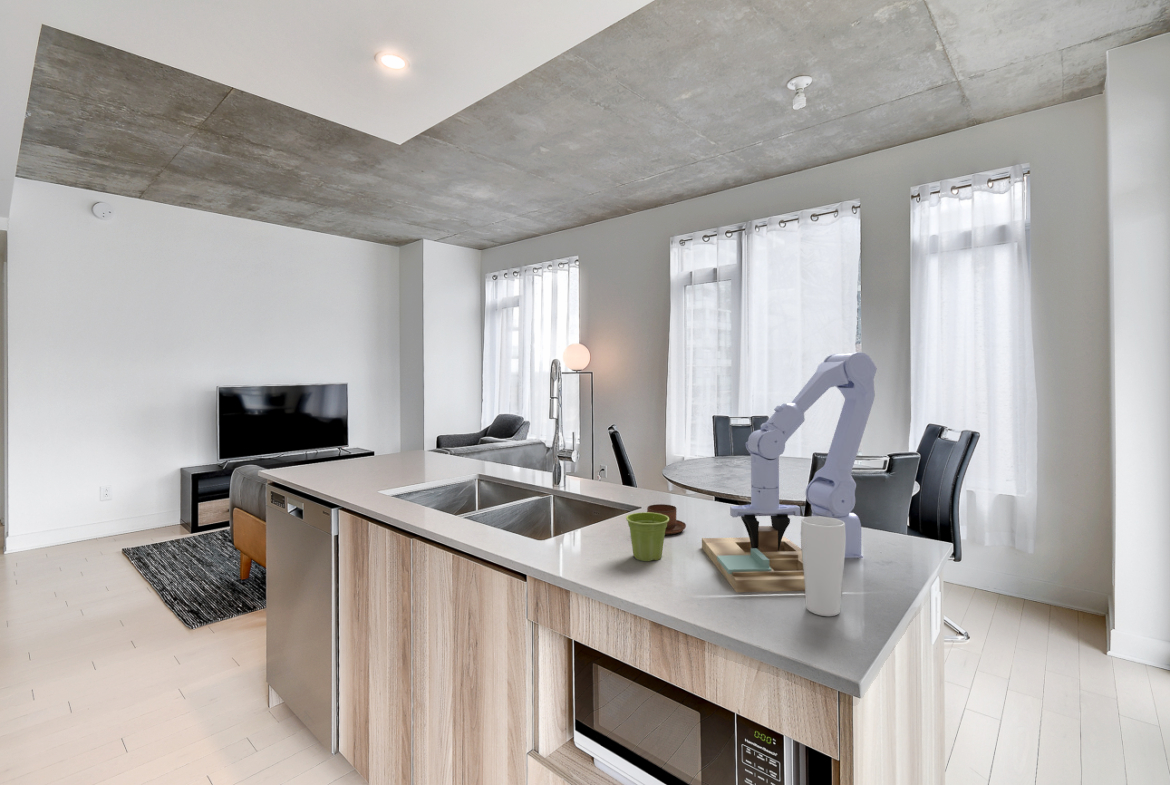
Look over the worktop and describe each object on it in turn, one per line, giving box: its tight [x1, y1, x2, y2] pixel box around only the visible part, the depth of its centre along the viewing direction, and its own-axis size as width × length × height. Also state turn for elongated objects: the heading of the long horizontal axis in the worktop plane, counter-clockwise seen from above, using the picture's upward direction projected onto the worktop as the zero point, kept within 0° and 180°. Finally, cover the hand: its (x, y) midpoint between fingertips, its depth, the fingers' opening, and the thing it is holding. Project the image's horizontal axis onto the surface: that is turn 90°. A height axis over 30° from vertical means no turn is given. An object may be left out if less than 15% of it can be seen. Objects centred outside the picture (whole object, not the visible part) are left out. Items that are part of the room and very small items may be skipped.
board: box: [701, 536, 805, 593], centre depth 112 cm, size 19×26×3 cm
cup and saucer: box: [646, 503, 687, 536], centre depth 139 cm, size 12×12×6 cm
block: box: [758, 525, 778, 552], centre depth 118 cm, size 4×4×6 cm
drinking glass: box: [800, 515, 846, 617], centre depth 91 cm, size 7×7×15 cm
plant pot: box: [625, 511, 669, 562], centre depth 119 cm, size 9×9×9 cm
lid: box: [717, 548, 771, 574], centre depth 106 cm, size 8×8×2 cm
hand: (765, 549), depth 118 cm, fingers closed on block, 4 cm apart
